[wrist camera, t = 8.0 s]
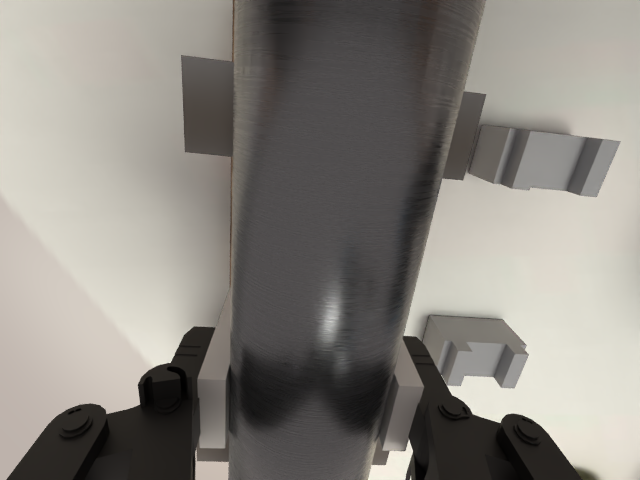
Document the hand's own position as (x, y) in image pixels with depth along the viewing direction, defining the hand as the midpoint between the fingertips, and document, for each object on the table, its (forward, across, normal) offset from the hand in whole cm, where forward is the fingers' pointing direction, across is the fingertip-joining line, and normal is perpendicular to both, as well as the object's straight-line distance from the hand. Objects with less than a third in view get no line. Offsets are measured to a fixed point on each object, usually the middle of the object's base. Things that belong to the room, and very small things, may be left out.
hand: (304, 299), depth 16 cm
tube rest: (+7, +13, 0) cm, 15 cm away
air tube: (-3, 0, 0) cm, 3 cm away
